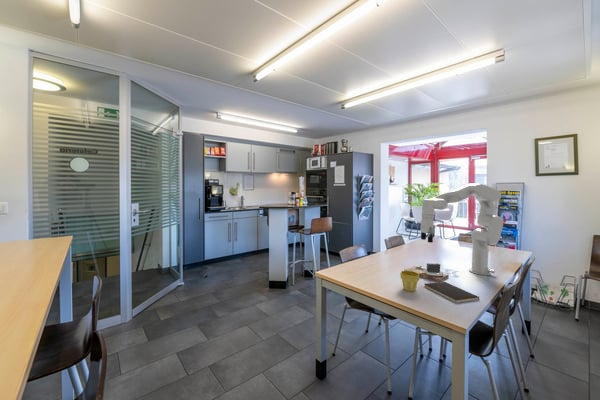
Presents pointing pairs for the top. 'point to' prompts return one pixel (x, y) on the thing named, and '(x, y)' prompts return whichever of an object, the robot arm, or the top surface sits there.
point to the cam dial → (433, 270)
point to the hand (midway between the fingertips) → (426, 240)
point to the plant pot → (409, 280)
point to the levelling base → (420, 269)
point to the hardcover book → (451, 292)
